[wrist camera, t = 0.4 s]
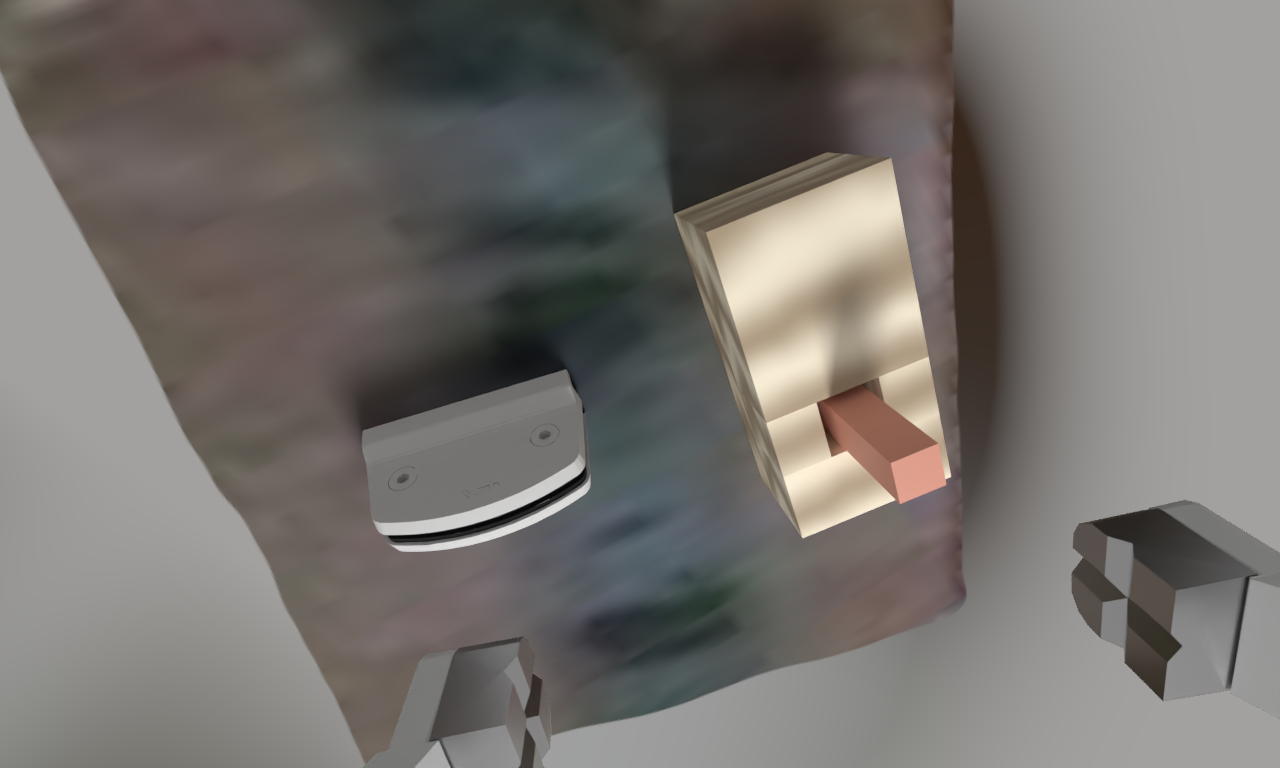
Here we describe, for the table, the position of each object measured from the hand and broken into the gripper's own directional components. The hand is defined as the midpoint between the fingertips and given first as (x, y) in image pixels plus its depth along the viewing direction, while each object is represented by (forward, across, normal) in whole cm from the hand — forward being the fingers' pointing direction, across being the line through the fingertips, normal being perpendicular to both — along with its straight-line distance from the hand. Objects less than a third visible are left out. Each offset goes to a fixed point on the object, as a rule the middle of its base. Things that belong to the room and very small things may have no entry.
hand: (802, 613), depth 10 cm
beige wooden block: (+42, -10, +10) cm, 44 cm away
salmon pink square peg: (+39, -11, +14) cm, 43 cm away
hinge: (+40, +16, +13) cm, 44 cm away
